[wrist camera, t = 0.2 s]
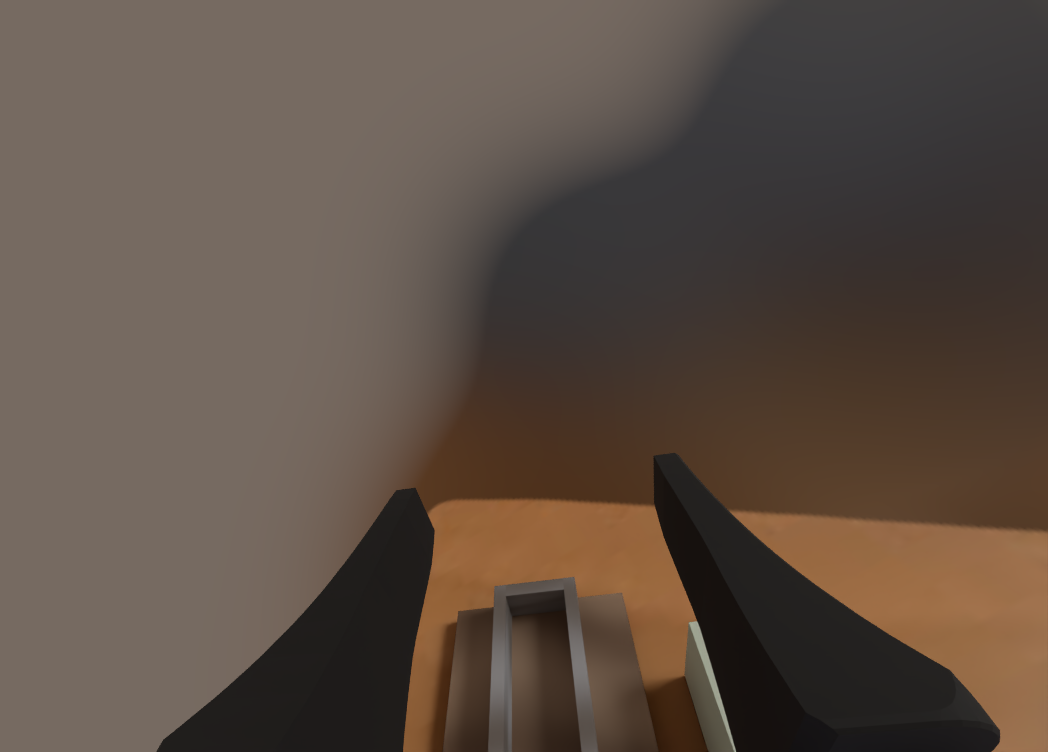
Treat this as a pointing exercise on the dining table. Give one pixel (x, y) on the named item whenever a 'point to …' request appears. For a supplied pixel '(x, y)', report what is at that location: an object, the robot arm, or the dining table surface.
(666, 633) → the dining table surface
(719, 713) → the panel
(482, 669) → the grey metal tray
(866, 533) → the dining table surface
